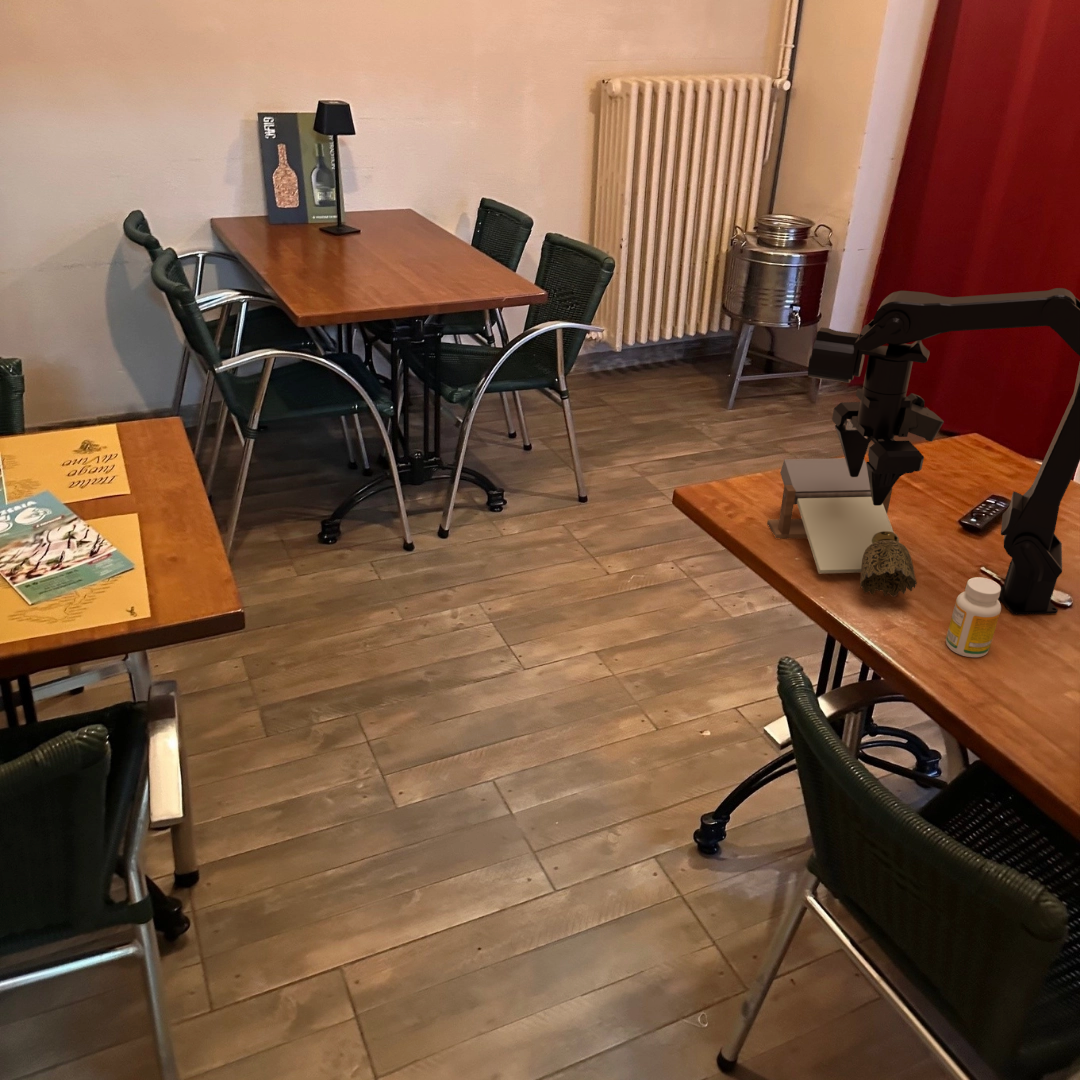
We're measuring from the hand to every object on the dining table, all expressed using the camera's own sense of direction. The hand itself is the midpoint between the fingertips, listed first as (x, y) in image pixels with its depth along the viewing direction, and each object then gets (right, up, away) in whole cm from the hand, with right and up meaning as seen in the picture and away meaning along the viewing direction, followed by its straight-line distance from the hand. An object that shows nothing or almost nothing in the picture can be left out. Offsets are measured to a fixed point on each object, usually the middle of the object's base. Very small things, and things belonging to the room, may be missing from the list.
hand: (865, 490), depth 141 cm
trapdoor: (-1, -5, +11) cm, 12 cm away
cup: (+2, -6, -1) cm, 7 cm away
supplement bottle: (+9, -21, -12) cm, 26 cm away
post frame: (-1, -6, +16) cm, 17 cm away
